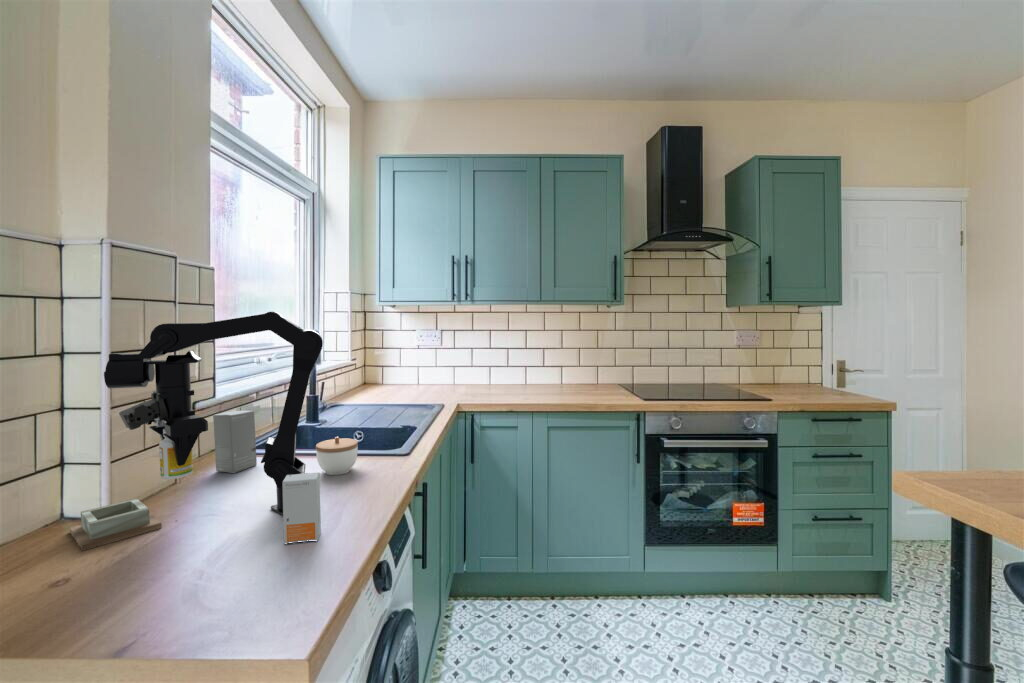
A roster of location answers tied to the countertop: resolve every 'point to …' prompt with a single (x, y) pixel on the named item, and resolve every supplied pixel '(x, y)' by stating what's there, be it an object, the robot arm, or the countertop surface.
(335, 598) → the countertop surface
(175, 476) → the supplement bottle
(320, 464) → the lidded jar
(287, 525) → the skincare box
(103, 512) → the socket board
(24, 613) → the countertop surface
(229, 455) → the skincare box
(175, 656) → the countertop surface
